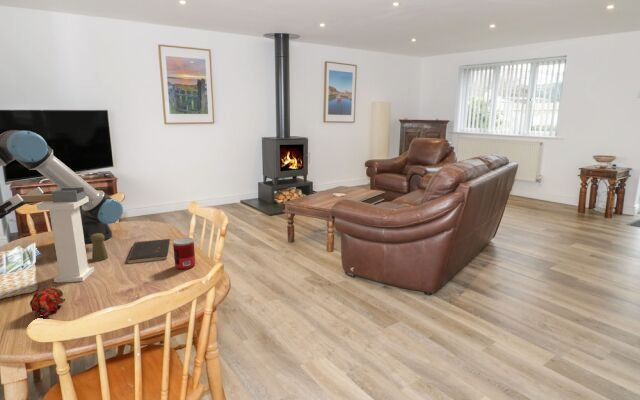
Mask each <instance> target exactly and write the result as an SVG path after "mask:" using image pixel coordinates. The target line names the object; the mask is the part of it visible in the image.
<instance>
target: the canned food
mask: <svg viewBox="0 0 640 400" xmlns="http://www.w3.org/2000/svg"><path fill="white" fill-rule="evenodd" d="M172 245H173V248H172V249H173V258H174V267H175V269H177V270H180V271H181V270H185V271H186V270H188V269H192V268H193V267H195V266H196V255H195V254H196V253H195V240H194V238H192V237H181V238H180V237H179V238H177V239H175V240H173V244H172Z"/></svg>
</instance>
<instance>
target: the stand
mask: <svg viewBox="0 0 640 400" xmlns="http://www.w3.org/2000/svg"><path fill="white" fill-rule="evenodd" d="M87 202H89V199H88V196H85V198H84V199H82V200H80V201H78V202H53V201H41V202H38V203H37V204H36V209H37V211H47V210H49V217H50V222H51V229H52V236H53V242H54V248H55V253H56V254H55V255H56V260H57V261H56V262H57V266H58V267H57V268H58V275H57V276H55V277H54V278H53V283H54V282H57V283H73V282H84V281H85V280H86V279H87V278H88V277H90V275H92V274H93V272H95V266H89V263H88V259H87V258H88V256H87V250H86V243H85V242H84V235H83V228H82V221H81V214H80V207H79V206H81V205H83V204H85V203H87Z"/></svg>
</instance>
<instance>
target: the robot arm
mask: <svg viewBox="0 0 640 400" xmlns="http://www.w3.org/2000/svg"><path fill="white" fill-rule="evenodd" d="M15 160H16V161H17V162H19V164H21V165H22V166H24V167H25V168H26V169H28V170H29V171H31V170H32V171H34V170H35V171H37V172H38V173H40V175H42V176H44V177H46V179H47V180H49V181H50V182H52V184H54V185H55V186H57V187H58V188H70V187H84V191H85V196H88V199H89V202H87V203H85V204H83V205H81V206H79V207H80V214H81V221H82V228H83V235H84V242H85V244H88V243H89V244H91V243H93V242H92V241H91V239H90V238H91V235H93V234H96V233H102V234H103V235H104V241H107V240H109V239H111V238H112V237H113V231H112V229H111V227H110V225H111V224H116V222H118V221H119V220H120V219H121V218H122V215H124V214H123V212H124V211H123V210H124V206H123V204H122V203H121V201H119V200H117V199H116V198H113V197H111V196H110V195H108V194H107V193H106V192H105V191H104V190H97V189H95V187H94V186H92V185H91V184H89V183H88V182H87V181H85V179H83V178H82V177H81V176H80V175H78V174H77V173H76V172H75V171H74V170H72V169H71V168H70V167H68V166H67V165H66V164H65V163H64V162H62V161H61V160H60V159H58V158H57V157H56V155H54V149H52V147H50V146H49V145H48V143H47V142H46V140H45V139H44V138H43V136H41V135H40V134H37V133H36V132H33V131H31V130H18V129H11V130H7V131H4V132H2V133H1V134H0V167H6V166H7V165H9V164H10V163H11V162H13V161H15ZM36 194H45V193H44V191H43V190H42V188H41V187H40V186H37V187H35V188H34V189H32V190H31V191H29V192H27V193H26V194H22V195H36ZM19 195H20V194H19V193H16V194H15V195H13V196H12V197H10V198H8V199H6V200H5V201H3V202H2V203H0V220H1V219H3V218H4V217H5V216H7V215H9V214H11V213H12V212H13V211H16V210H17V209H19V208H21V207H23V206H25V205H26V204H28V203H29V202H22V201H23V199H22V198H21V197H20V196H19Z"/></svg>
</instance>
